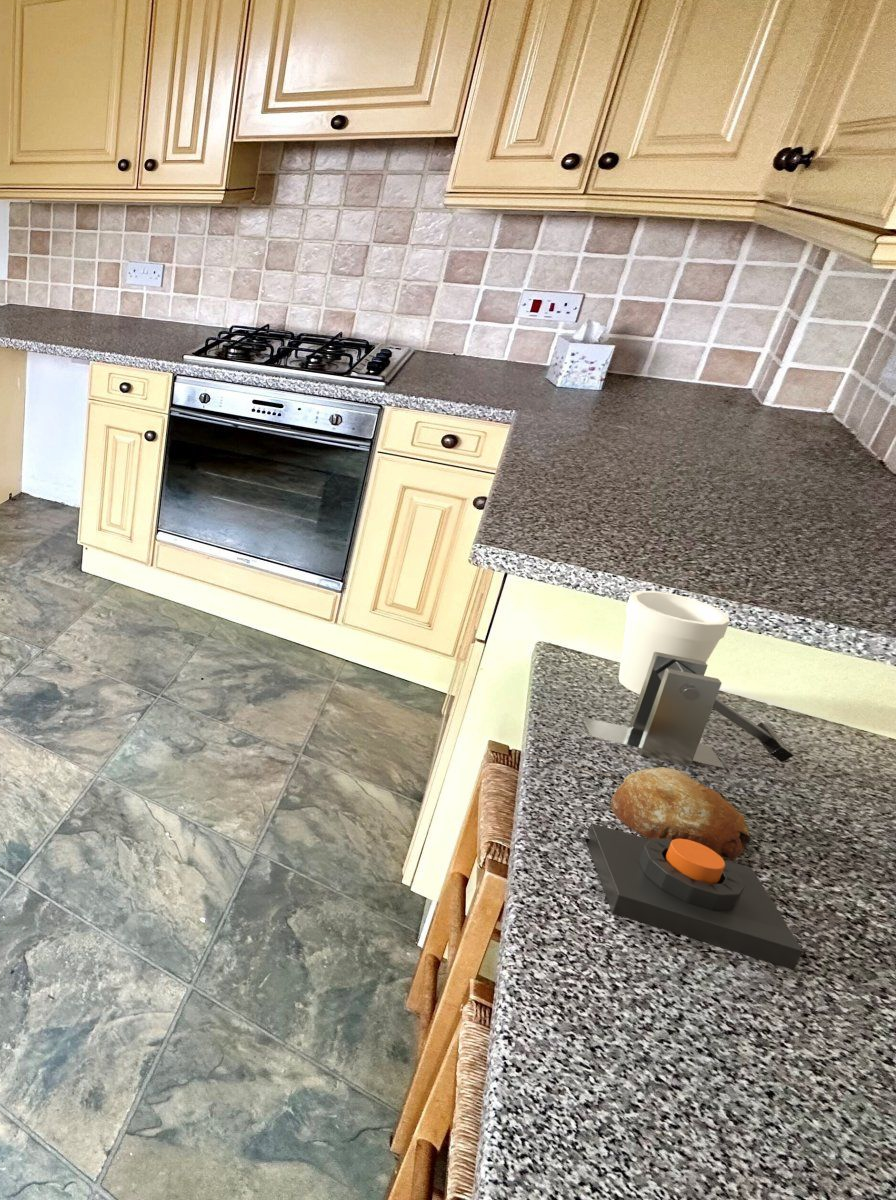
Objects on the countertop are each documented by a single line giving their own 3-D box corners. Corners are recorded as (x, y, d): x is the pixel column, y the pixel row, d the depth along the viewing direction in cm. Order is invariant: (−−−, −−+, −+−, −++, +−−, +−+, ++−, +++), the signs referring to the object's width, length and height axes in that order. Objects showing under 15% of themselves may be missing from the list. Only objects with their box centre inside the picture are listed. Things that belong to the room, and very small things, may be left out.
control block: (744, 885, 73) (758, 852, 72) (794, 971, 64) (811, 934, 63) (584, 840, 78) (595, 808, 77) (611, 913, 70) (624, 878, 68)
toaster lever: (756, 739, 87) (777, 727, 86) (777, 765, 82) (799, 752, 81) (652, 668, 89) (672, 655, 88) (667, 689, 85) (687, 676, 84)
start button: (710, 862, 71) (716, 847, 70) (726, 890, 68) (732, 874, 67) (659, 848, 73) (665, 833, 72) (672, 874, 69) (678, 859, 69)
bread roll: (626, 817, 86) (604, 749, 86) (757, 830, 79) (733, 754, 79) (615, 866, 80) (592, 791, 80) (757, 884, 72) (731, 802, 72)
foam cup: (601, 667, 109) (627, 584, 105) (689, 689, 104) (720, 603, 100) (606, 698, 102) (635, 610, 98) (701, 724, 97) (736, 632, 93)
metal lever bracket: (706, 756, 91) (742, 661, 87) (737, 804, 83) (779, 702, 79) (579, 726, 96) (607, 635, 92) (597, 769, 89) (629, 671, 85)
